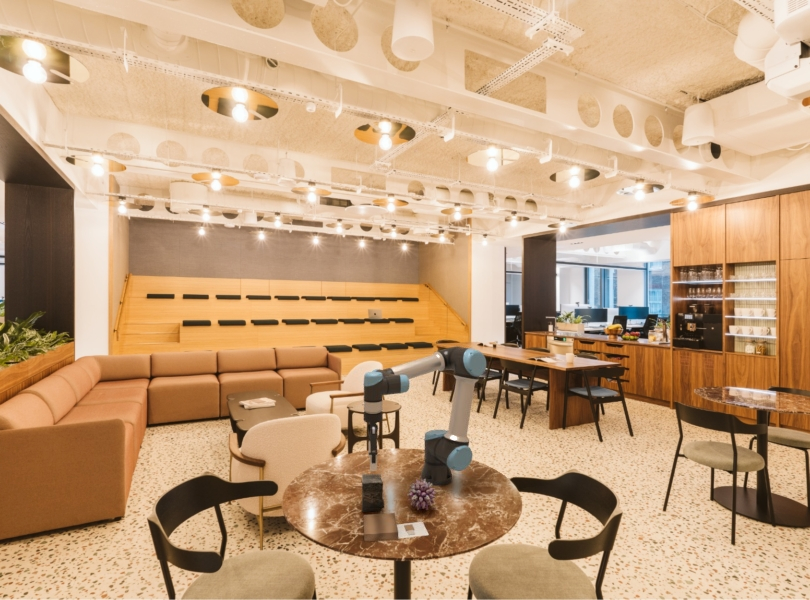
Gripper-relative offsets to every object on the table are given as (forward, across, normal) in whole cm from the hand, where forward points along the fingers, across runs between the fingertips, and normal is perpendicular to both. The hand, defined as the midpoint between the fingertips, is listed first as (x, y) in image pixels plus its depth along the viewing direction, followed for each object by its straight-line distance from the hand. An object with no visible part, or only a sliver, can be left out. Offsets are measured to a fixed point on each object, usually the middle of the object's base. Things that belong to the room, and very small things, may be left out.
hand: (372, 463), depth 165 cm
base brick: (+20, +14, +2) cm, 24 cm away
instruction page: (+20, +15, +13) cm, 28 cm away
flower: (+20, 0, +20) cm, 28 cm away
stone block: (+20, 0, 0) cm, 20 cm away
